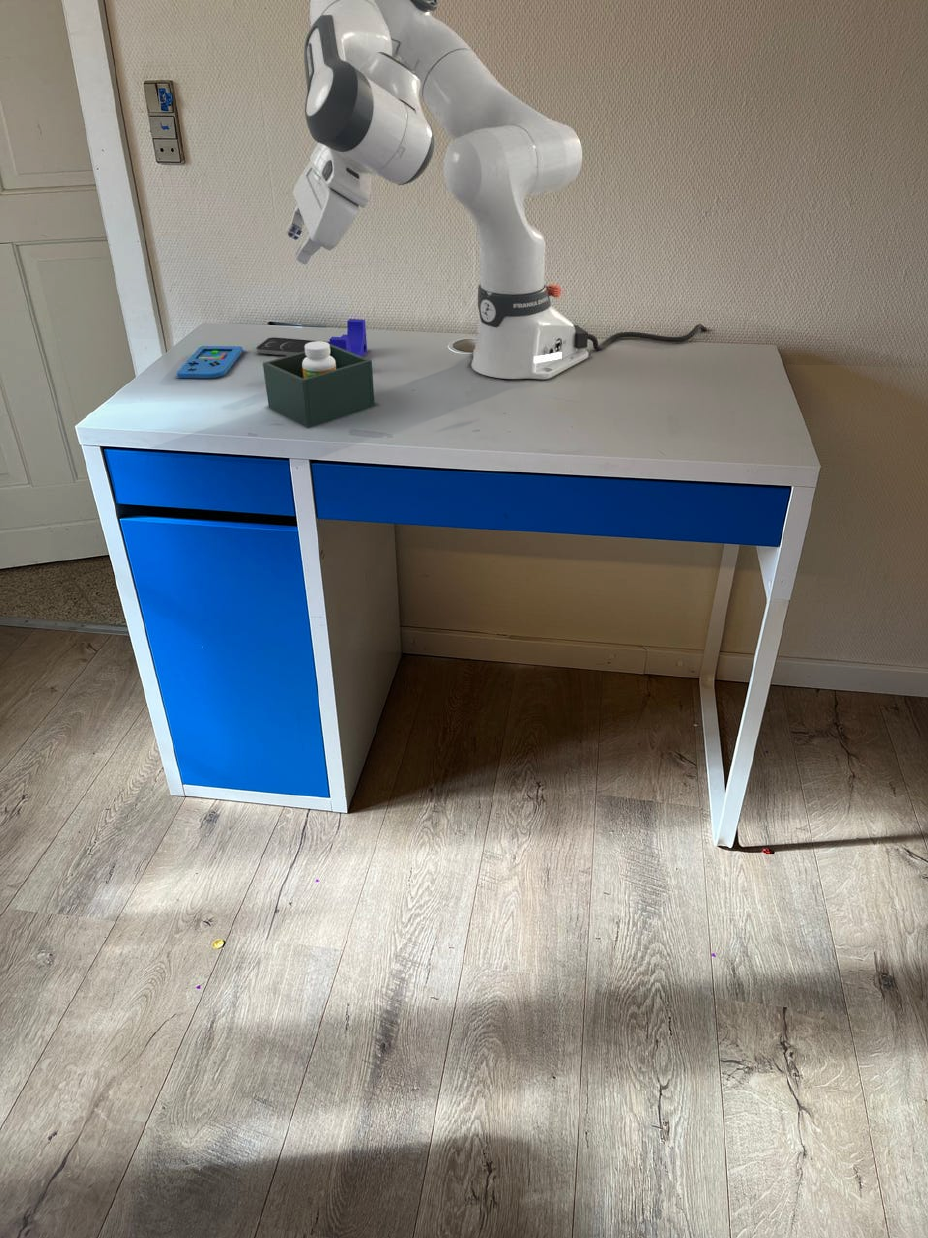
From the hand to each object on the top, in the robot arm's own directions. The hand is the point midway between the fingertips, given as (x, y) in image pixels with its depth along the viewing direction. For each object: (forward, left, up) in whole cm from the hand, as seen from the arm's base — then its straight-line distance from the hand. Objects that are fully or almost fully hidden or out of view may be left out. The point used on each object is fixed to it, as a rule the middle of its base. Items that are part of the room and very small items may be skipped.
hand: (295, 248), depth 143 cm
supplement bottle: (+1, +4, -24) cm, 24 cm away
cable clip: (-15, -11, -24) cm, 31 cm away
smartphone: (-12, -22, -24) cm, 35 cm away
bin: (+1, +4, -24) cm, 25 cm away
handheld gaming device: (+4, -27, -24) cm, 37 cm away
